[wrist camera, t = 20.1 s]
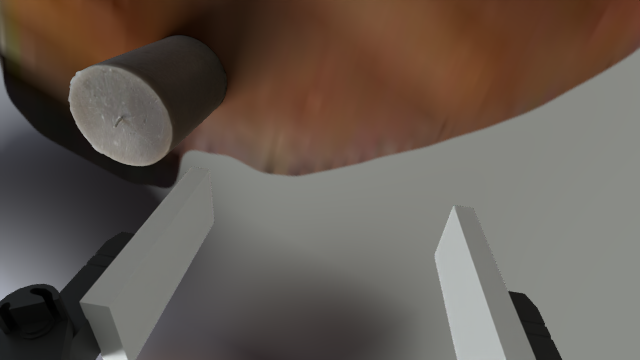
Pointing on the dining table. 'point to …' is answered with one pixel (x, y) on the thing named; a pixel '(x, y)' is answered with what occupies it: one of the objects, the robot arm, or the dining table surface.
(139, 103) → the pillar candle
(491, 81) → the dining table surface
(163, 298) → the robot arm
